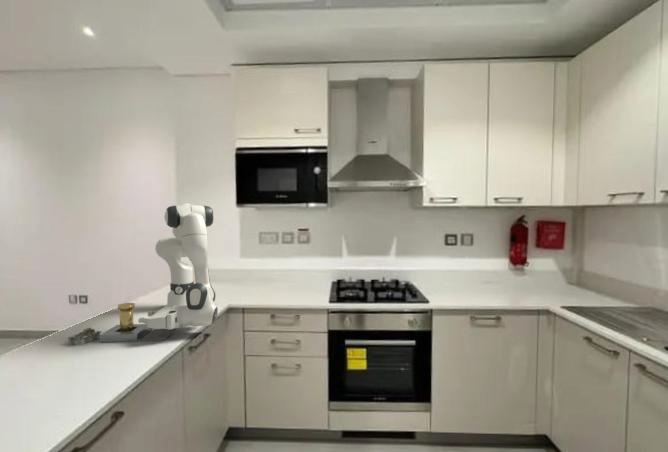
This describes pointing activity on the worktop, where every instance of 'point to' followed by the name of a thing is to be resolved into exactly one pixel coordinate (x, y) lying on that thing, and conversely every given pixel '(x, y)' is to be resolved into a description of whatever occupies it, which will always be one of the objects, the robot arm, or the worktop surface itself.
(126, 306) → the round headed pin
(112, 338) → the housing
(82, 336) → the egg carton
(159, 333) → the mat
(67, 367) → the worktop surface
